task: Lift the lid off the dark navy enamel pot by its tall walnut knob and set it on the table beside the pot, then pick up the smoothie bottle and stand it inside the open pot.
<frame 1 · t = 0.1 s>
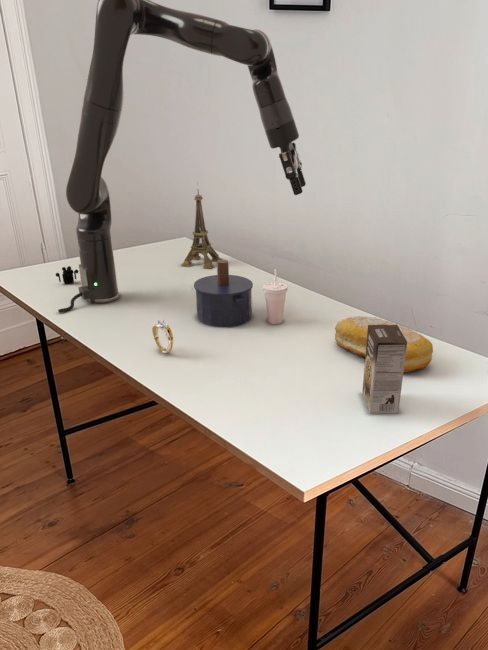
hand: (300, 190, 174), 31 cm above the table, tool tilted 20°, fingers open, 8 cm apart
eiffel tower: (201, 263, 226), on the table
ring: (164, 353, 167), on the table
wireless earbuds: (69, 284, 207), on the table
lid: (223, 286, 181), point 8 cm above the table, touching pot
bread: (380, 356, 167), on the table
smoothie: (275, 322, 184), on the table
coffee box: (379, 404, 146), on the table
pot: (224, 316, 186), on the table
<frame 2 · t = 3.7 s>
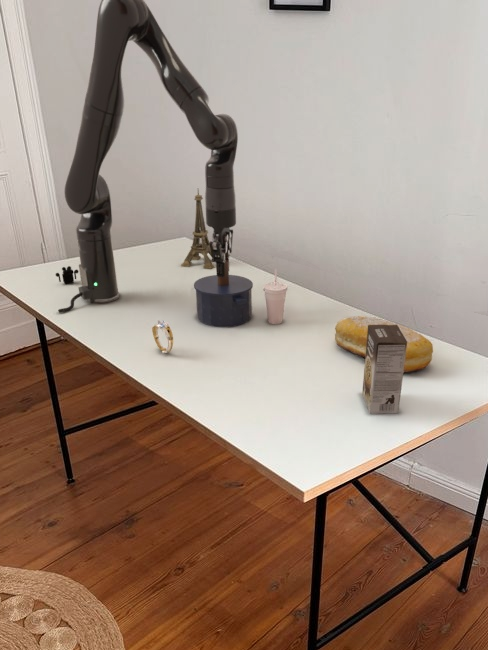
hand: (223, 274, 180), 12 cm above the table, tool pointing down, fingers closed on lid, 3 cm apart
lid: (223, 286, 181), point 9 cm above the table, touching gripper, pot
everything else where it was.
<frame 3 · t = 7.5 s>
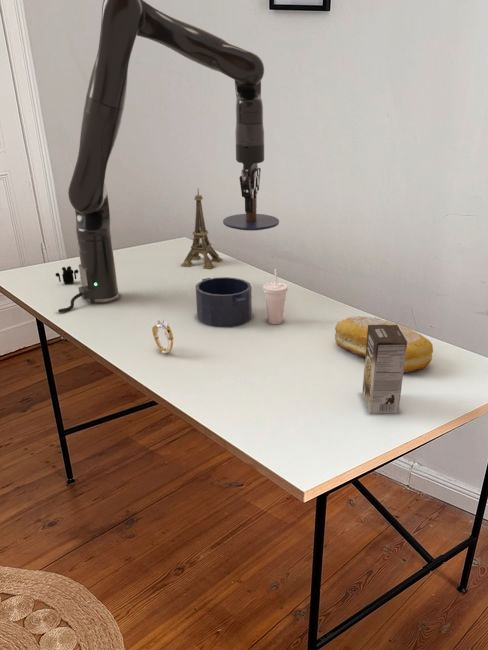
hand: (250, 210, 189), 23 cm above the table, tool pointing down, fingers closed on lid, 3 cm apart
lid: (251, 222, 190), point 20 cm above the table, touching gripper
everything else where it was.
when the fingers open (4 cm above the table, at t = 11.3 s): lid stays where it is, point 1 cm above the table.
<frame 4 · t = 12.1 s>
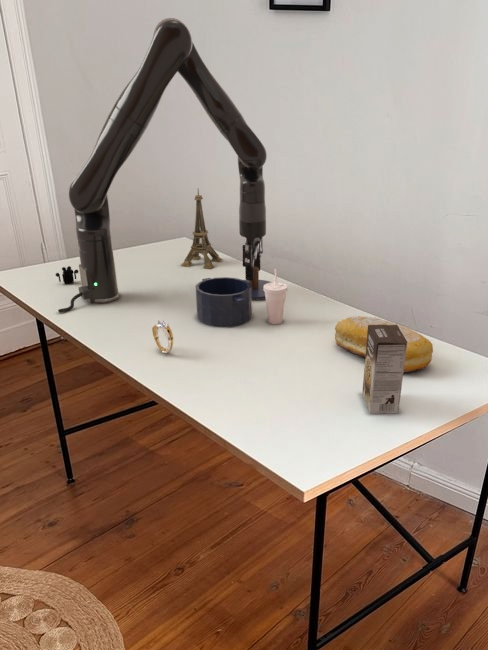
hand: (253, 275, 200), 5 cm above the table, tool pointing down, fingers open, 8 cm apart
lid: (253, 290, 203), point 1 cm above the table
everything else where it was.
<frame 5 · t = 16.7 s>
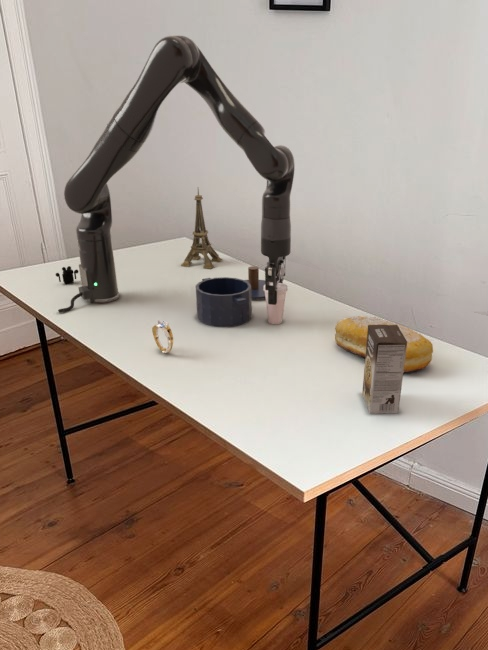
hand: (275, 299, 180), 6 cm above the table, tool pointing down, fingers closed on smoothie, 6 cm apart
smoothie: (275, 322, 184), on the table, touching gripper
everything else where it was.
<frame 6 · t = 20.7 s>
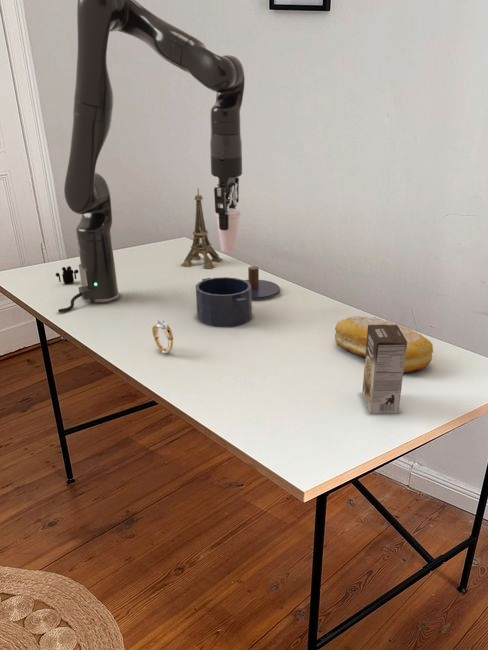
hand: (227, 225, 172), 24 cm above the table, tool pointing down, fingers closed on smoothie, 6 cm apart
smoothie: (228, 251, 176), point 18 cm above the table, touching gripper
everything else where it was.
when the fingers open (7 cm above the table, at t = 24.6 s): smoothie stays where it is, resting on pot.
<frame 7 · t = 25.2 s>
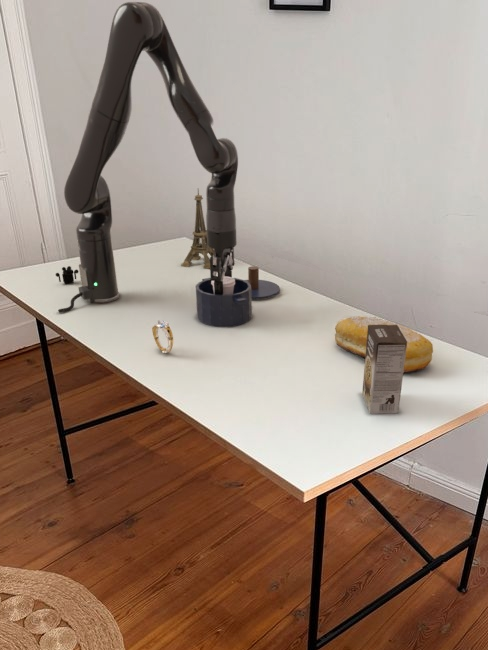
hand: (223, 289, 182), 8 cm above the table, tool pointing down, fingers open, 8 cm apart
smoothie: (224, 315, 186), resting on pot
everything else where it was.
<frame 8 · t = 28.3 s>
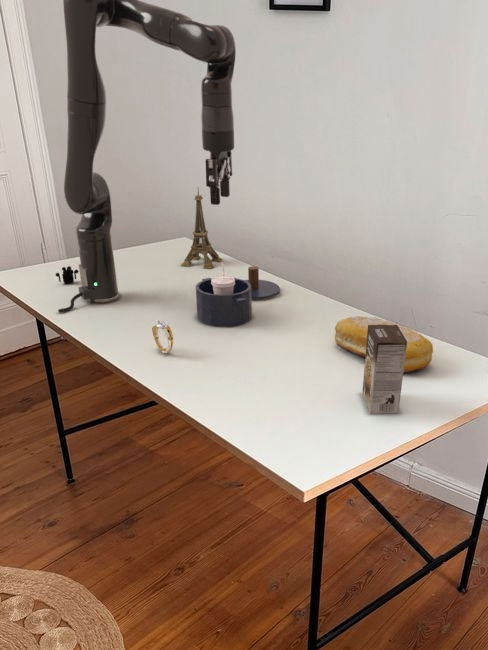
hand: (220, 200, 169), 30 cm above the table, tool pointing down, fingers open, 8 cm apart
nothing on the table moved.
at the end: lid inside the target area (0.1 cm from its centre), point 0.6 cm above the table; smoothie inside the target area in the pot (0.0 cm from its centre), point 0.3 cm above the pot's base; smoothie tilted 0° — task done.
